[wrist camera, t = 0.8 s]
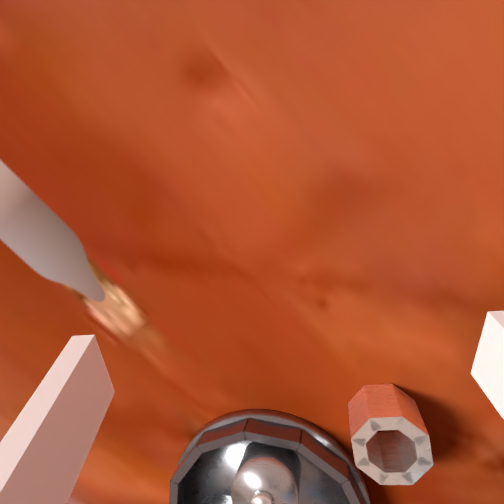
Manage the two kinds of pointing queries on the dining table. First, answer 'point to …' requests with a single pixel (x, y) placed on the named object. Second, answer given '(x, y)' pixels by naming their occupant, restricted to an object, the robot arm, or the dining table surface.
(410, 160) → the dining table surface
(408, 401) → the octagonal hollow container
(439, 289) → the dining table surface
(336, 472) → the carrier
